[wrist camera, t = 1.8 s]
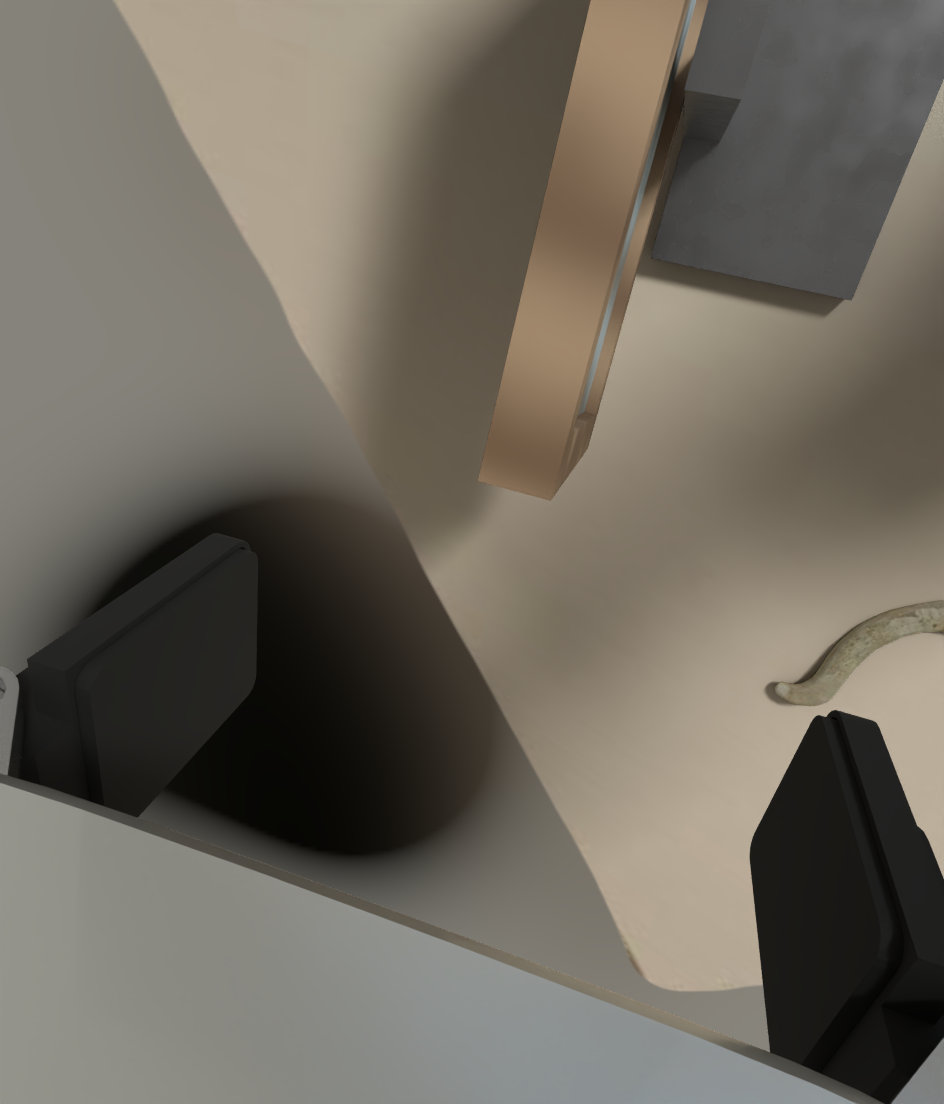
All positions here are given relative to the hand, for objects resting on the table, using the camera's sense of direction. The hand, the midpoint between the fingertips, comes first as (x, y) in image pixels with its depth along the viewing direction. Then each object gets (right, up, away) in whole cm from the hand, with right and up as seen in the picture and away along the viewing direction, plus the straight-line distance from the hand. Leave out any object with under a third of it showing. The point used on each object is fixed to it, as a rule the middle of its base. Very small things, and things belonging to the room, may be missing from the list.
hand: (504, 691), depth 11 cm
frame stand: (+18, +26, +28) cm, 42 cm away
